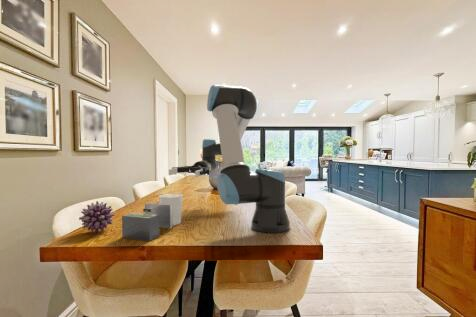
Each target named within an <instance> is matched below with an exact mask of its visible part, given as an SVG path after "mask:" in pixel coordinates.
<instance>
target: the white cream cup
mask: <svg viewBox="0 0 476 317" xmlns="http://www.w3.org/2000/svg"><path fill="white" fill-rule="evenodd" d="M158 199H159V202H158V204H172V227H173V226H177V225H181V223H182V214H183V213H182V210H183V209H182V207H183V194H181V193H166V194H160V195H158Z"/></svg>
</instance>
